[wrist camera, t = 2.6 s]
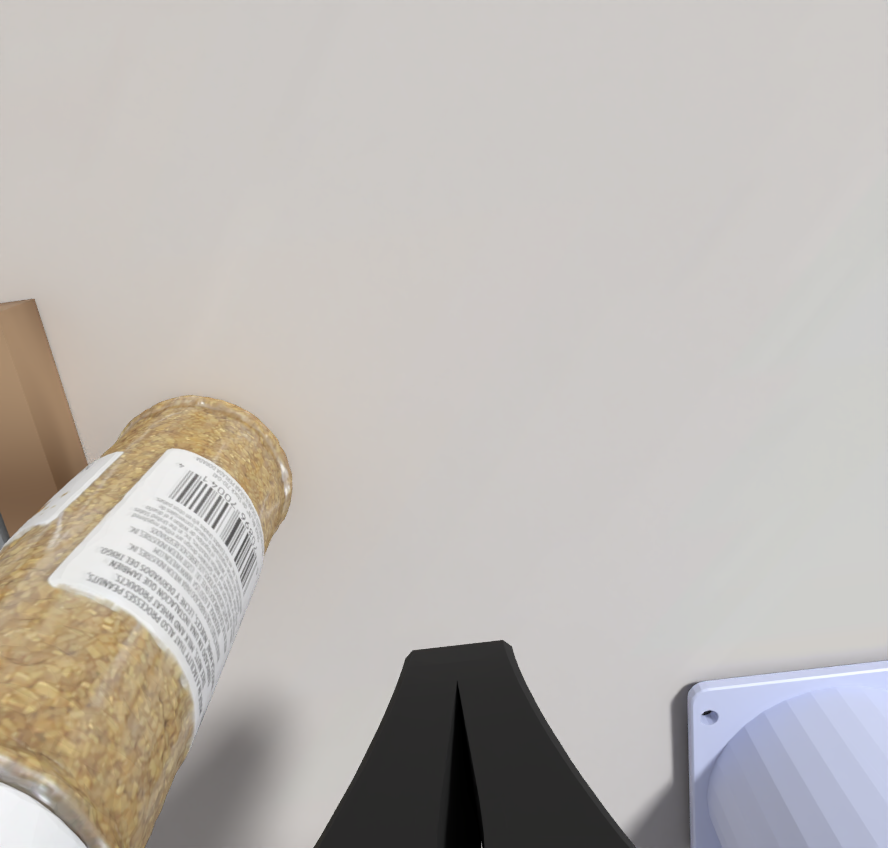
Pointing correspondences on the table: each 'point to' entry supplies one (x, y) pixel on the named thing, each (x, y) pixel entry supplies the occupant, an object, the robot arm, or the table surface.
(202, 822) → the table surface
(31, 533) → the sprinkles bottle
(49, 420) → the walnut rail
